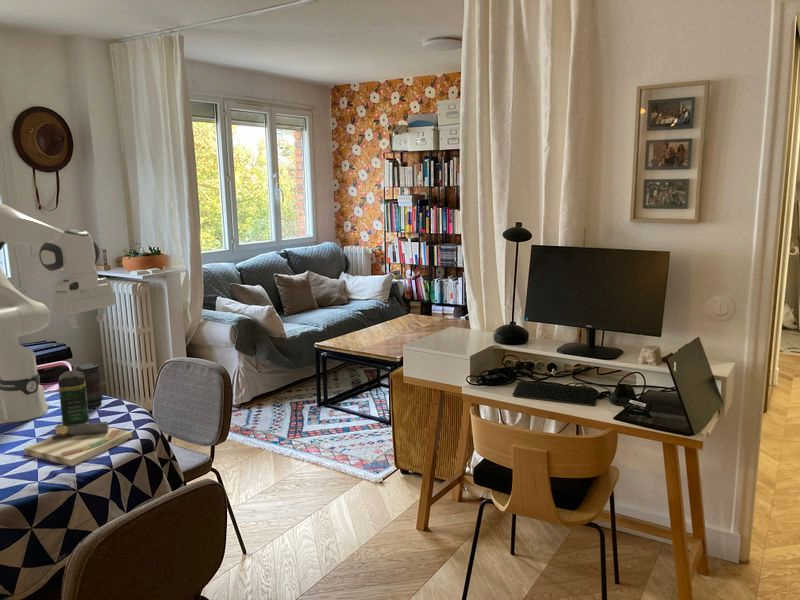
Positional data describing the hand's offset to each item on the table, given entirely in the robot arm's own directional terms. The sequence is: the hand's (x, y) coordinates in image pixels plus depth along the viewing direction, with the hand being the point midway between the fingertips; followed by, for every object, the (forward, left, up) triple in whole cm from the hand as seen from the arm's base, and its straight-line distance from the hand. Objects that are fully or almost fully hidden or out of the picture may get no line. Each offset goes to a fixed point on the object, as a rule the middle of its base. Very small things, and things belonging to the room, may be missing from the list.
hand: (88, 324), depth 199 cm
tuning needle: (+3, -8, -33) cm, 34 cm away
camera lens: (-22, +15, -36) cm, 44 cm away
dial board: (+5, -12, -35) cm, 38 cm away
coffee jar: (-10, -1, -36) cm, 37 cm away
